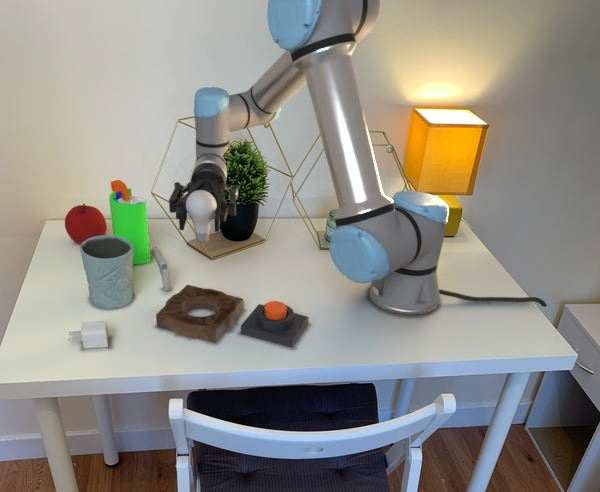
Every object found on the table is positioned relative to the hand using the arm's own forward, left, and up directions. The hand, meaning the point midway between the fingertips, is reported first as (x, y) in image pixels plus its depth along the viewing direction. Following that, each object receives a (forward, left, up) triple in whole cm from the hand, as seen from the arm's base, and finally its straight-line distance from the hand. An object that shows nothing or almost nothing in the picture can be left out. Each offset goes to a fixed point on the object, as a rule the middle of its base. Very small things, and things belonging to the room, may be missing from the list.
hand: (199, 224), depth 127 cm
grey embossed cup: (+17, +6, -18) cm, 26 cm away
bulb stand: (-3, +5, -18) cm, 19 cm away
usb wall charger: (+12, +22, -18) cm, 31 cm away
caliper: (+18, +1, -19) cm, 26 cm away
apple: (+36, -13, -18) cm, 43 cm away
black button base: (-18, +2, -18) cm, 25 cm away
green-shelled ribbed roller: (+23, -12, -18) cm, 32 cm away
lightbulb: (+2, -5, -7) cm, 8 cm away
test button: (-18, +2, -14) cm, 23 cm away
